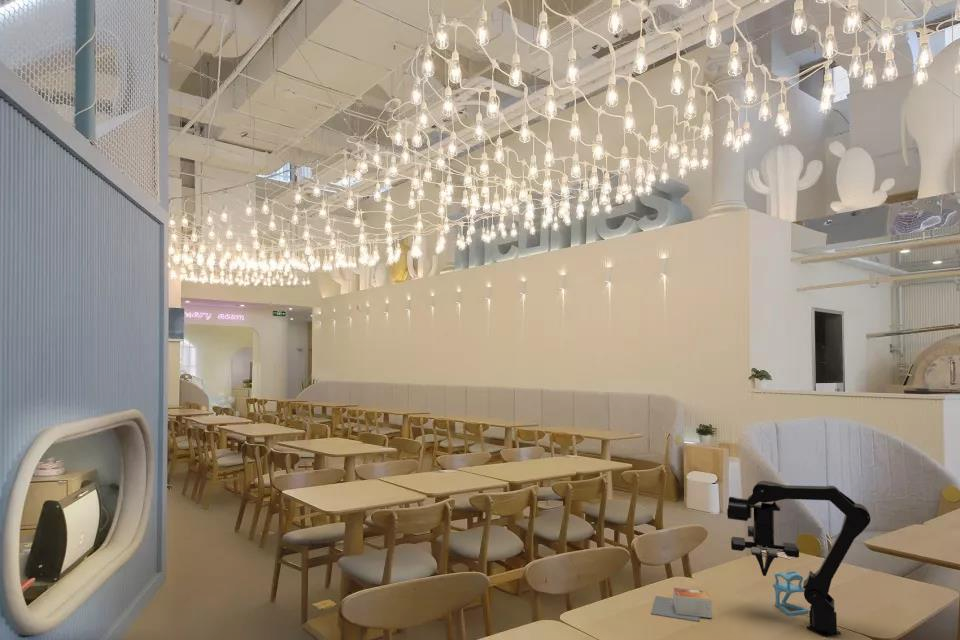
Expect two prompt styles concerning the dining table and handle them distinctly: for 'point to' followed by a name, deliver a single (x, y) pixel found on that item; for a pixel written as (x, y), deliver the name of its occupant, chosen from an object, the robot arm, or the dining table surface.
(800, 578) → the chair
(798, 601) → the dining table surface
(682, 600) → the small box
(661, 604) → the mat
